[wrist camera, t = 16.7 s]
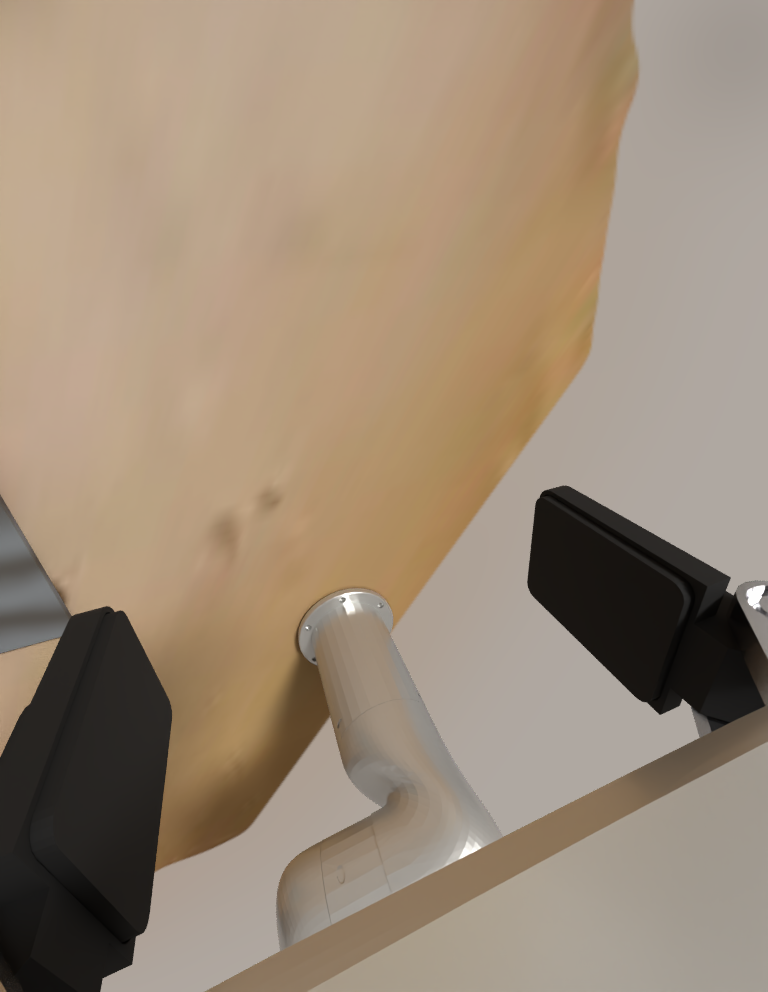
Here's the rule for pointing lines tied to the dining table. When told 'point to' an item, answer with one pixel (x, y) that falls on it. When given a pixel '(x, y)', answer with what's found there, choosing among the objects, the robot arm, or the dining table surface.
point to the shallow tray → (25, 592)
